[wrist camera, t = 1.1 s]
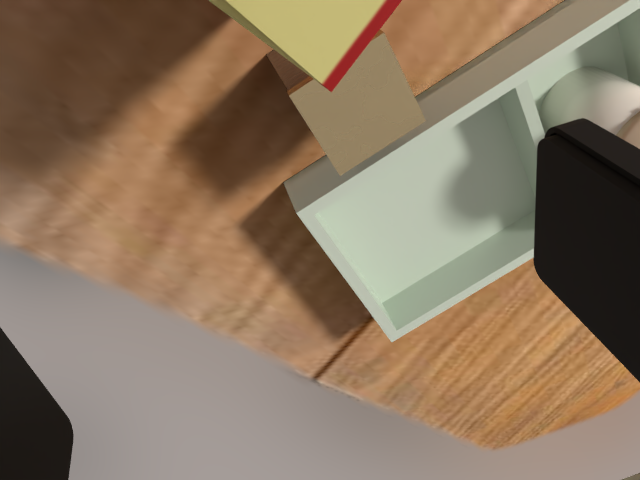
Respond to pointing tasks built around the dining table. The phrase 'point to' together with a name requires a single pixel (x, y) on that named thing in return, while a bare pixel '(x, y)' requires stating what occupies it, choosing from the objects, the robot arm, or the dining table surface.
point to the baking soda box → (313, 30)
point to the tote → (459, 170)
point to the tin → (355, 104)
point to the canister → (594, 102)
